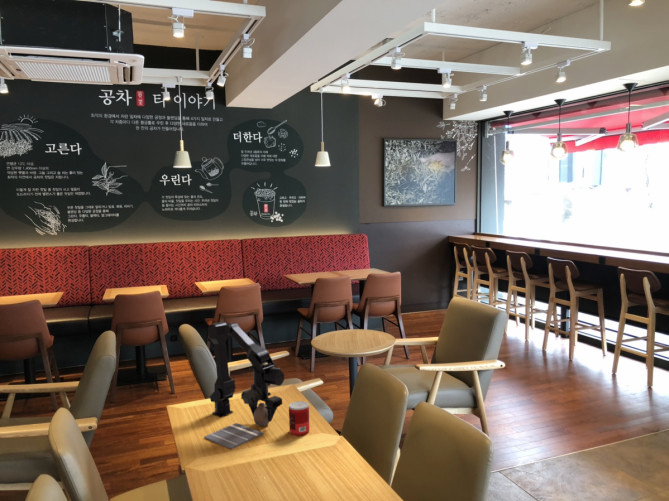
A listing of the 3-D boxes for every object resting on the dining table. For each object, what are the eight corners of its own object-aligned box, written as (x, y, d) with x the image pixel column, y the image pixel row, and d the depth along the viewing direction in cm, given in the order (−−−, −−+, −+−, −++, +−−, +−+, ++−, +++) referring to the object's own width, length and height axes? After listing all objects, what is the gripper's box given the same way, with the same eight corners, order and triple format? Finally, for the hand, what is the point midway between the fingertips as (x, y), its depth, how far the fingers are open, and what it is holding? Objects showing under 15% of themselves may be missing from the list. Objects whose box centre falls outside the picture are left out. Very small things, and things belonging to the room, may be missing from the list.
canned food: (312, 429, 208) (312, 402, 207) (303, 437, 201) (302, 409, 200) (296, 426, 211) (295, 399, 211) (286, 434, 204) (285, 406, 203)
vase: (272, 421, 217) (271, 400, 216) (268, 428, 210) (268, 407, 209) (256, 421, 218) (255, 400, 217) (251, 428, 211) (251, 407, 210)
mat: (204, 438, 203) (204, 436, 203) (236, 424, 215) (236, 422, 215) (231, 449, 193) (231, 447, 192) (263, 434, 205) (263, 432, 205)
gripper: (230, 382, 212) (231, 419, 213) (261, 391, 200) (263, 431, 202) (251, 375, 221) (252, 411, 222) (282, 383, 209) (283, 421, 210)
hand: (262, 418), depth 214 cm, fingers open, 9 cm apart
